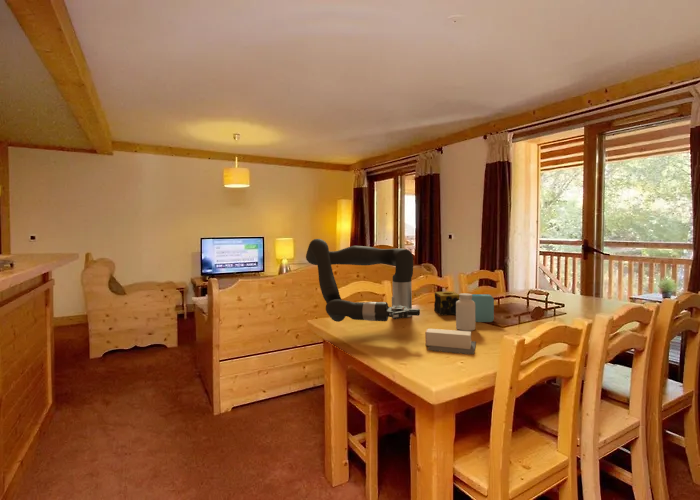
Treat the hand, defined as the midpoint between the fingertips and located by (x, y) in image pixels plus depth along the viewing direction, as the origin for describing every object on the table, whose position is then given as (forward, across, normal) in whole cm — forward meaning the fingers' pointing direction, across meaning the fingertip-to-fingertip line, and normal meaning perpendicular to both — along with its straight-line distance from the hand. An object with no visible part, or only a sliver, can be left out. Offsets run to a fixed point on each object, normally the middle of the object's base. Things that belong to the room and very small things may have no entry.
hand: (419, 312), depth 148 cm
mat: (+12, +3, -12) cm, 17 cm away
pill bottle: (+17, -21, -13) cm, 30 cm away
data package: (+24, -36, -13) cm, 45 cm away
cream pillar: (+3, +2, -9) cm, 9 cm away
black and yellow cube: (+9, -49, -13) cm, 52 cm away
